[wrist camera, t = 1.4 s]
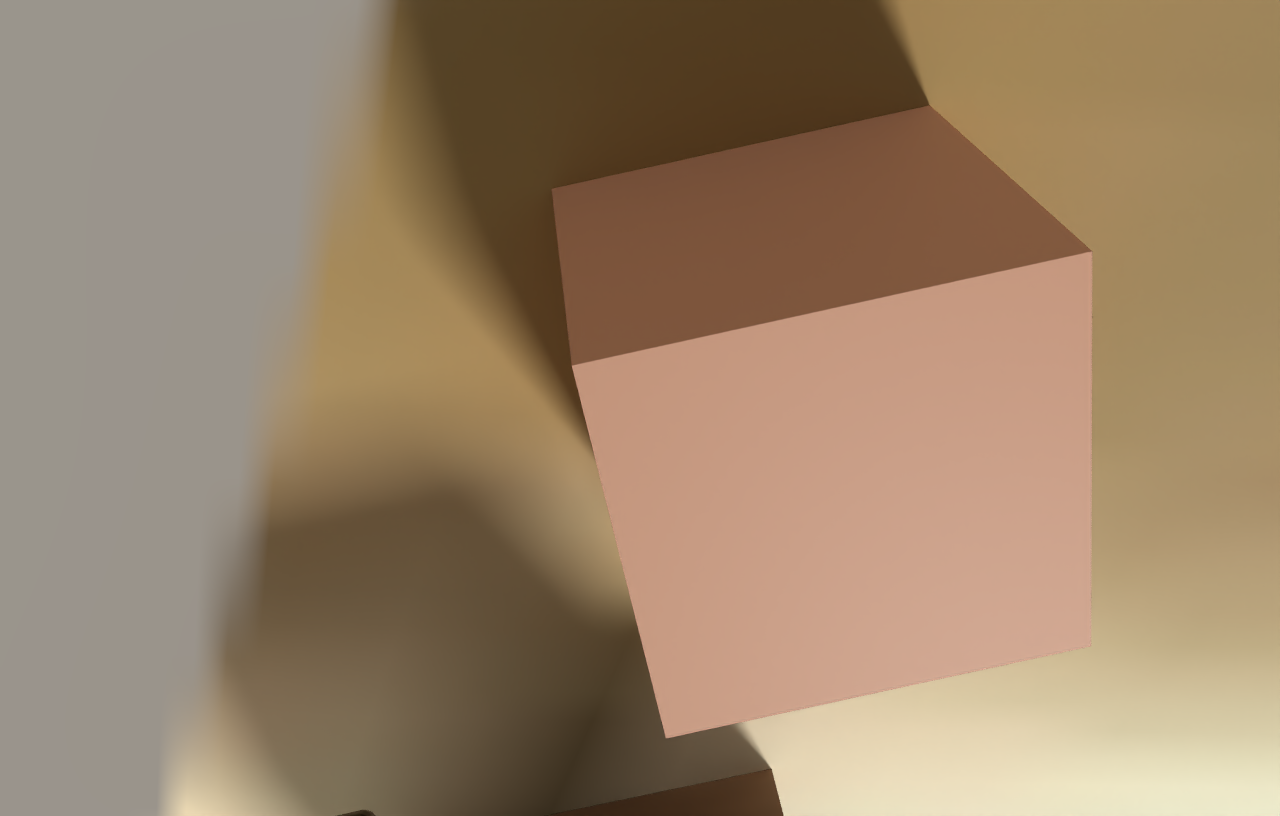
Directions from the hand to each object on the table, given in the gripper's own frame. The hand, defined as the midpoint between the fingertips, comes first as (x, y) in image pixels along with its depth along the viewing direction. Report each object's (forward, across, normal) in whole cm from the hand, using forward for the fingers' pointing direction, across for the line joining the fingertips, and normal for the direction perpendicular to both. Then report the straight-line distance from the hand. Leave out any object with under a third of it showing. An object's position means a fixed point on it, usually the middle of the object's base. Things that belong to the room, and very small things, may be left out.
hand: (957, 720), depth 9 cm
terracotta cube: (+7, 0, 0) cm, 7 cm away
